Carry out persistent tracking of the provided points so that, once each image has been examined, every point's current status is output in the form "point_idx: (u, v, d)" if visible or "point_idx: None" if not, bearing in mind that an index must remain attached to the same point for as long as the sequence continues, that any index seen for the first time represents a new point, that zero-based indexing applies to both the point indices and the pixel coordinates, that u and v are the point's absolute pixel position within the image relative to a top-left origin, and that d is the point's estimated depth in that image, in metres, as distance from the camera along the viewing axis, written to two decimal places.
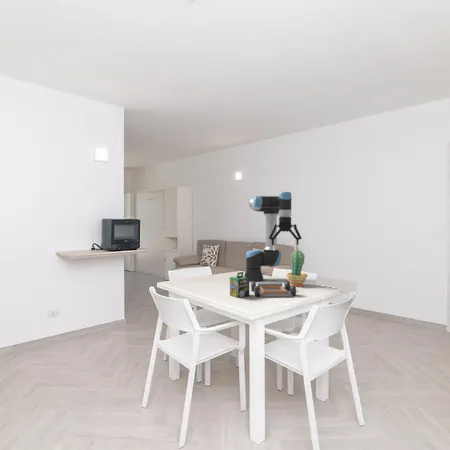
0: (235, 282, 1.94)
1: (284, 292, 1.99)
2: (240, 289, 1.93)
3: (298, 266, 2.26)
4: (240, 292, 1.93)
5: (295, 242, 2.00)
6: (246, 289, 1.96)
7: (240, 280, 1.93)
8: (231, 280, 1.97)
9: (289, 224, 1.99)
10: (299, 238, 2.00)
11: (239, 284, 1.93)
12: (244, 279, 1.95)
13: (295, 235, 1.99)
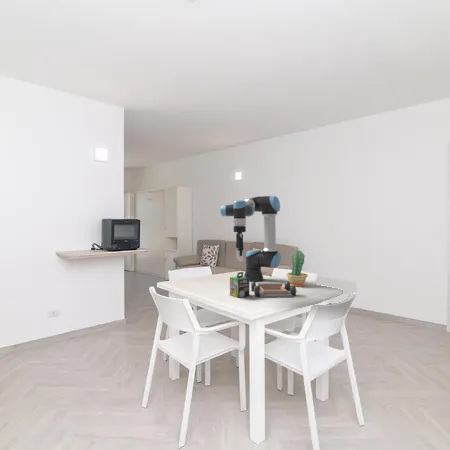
0: (235, 282, 1.94)
1: (284, 292, 1.99)
2: (240, 289, 1.93)
3: (298, 266, 2.26)
4: (240, 292, 1.93)
5: None
6: (246, 289, 1.96)
7: (240, 280, 1.93)
8: (231, 280, 1.97)
9: (238, 233, 1.95)
10: None
11: (239, 284, 1.93)
12: (244, 279, 1.95)
13: (238, 245, 1.91)
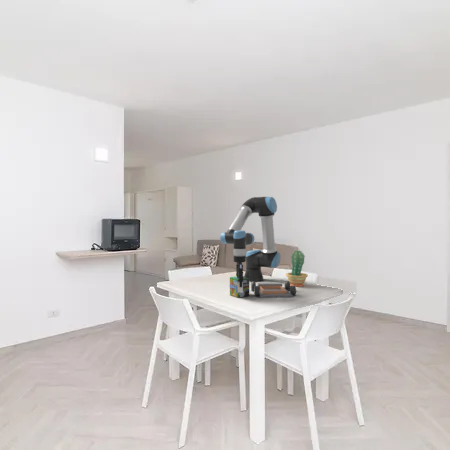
0: (235, 282, 1.94)
1: (284, 292, 1.99)
2: None
3: (298, 266, 2.26)
4: None
5: None
6: (246, 289, 1.96)
7: None
8: (231, 280, 1.97)
9: (238, 263, 1.95)
10: None
11: None
12: (244, 279, 1.95)
13: (238, 276, 1.92)
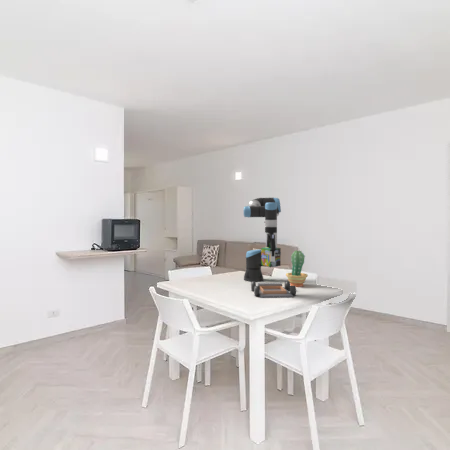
0: (267, 252, 2.01)
1: (284, 292, 1.99)
2: None
3: (298, 266, 2.26)
4: None
5: None
6: (278, 259, 2.02)
7: None
8: (263, 250, 2.04)
9: (270, 234, 2.02)
10: None
11: None
12: (276, 249, 2.01)
13: (270, 246, 1.99)
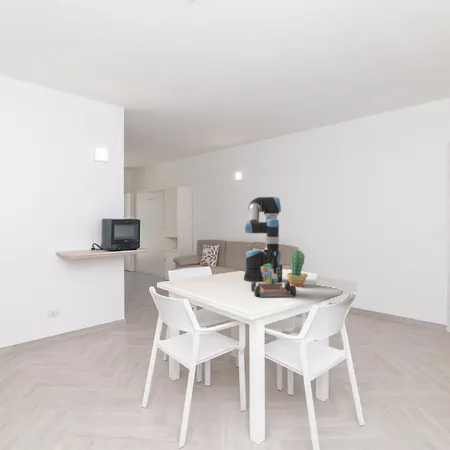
0: (269, 269, 2.01)
1: (284, 292, 1.99)
2: None
3: (298, 266, 2.26)
4: None
5: None
6: (279, 276, 2.03)
7: None
8: (264, 267, 2.04)
9: (271, 251, 2.02)
10: None
11: None
12: None
13: (272, 263, 1.99)
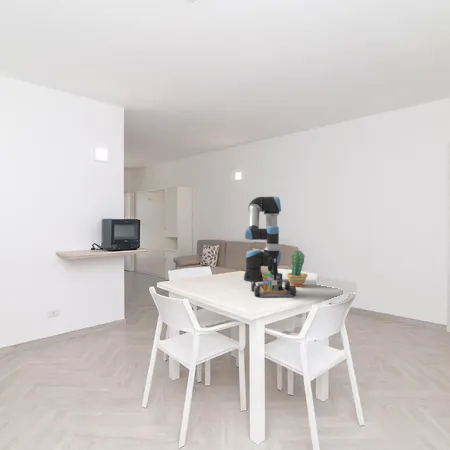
0: (269, 278, 2.01)
1: (284, 292, 1.99)
2: None
3: (298, 266, 2.26)
4: (274, 287, 2.00)
5: None
6: (280, 285, 2.03)
7: None
8: (264, 276, 2.04)
9: (271, 258, 2.03)
10: None
11: None
12: (277, 275, 2.02)
13: (272, 269, 1.99)
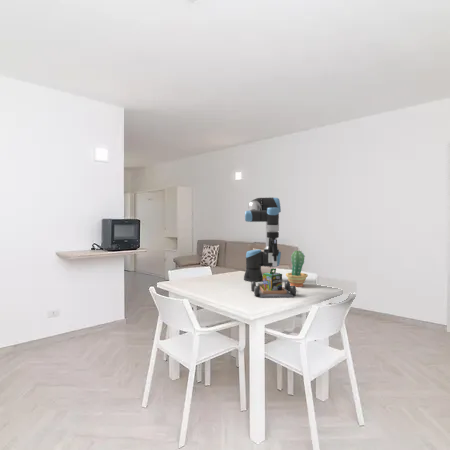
0: (268, 278, 2.01)
1: (284, 292, 1.99)
2: (273, 284, 2.00)
3: (298, 266, 2.26)
4: (273, 287, 2.00)
5: None
6: (279, 285, 2.02)
7: (273, 276, 2.00)
8: (264, 276, 2.04)
9: (271, 239, 2.02)
10: None
11: (272, 280, 1.99)
12: (277, 275, 2.01)
13: (272, 250, 1.99)
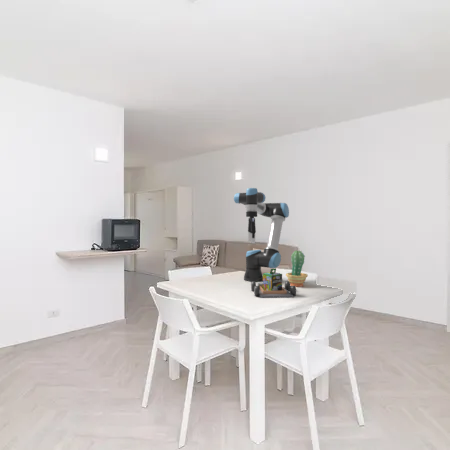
0: (268, 278, 2.01)
1: (284, 292, 1.99)
2: (273, 284, 2.00)
3: (298, 266, 2.26)
4: (273, 287, 2.00)
5: None
6: (279, 285, 2.02)
7: (273, 276, 2.00)
8: (264, 276, 2.04)
9: (250, 218, 2.13)
10: None
11: (272, 280, 1.99)
12: (277, 275, 2.01)
13: (251, 228, 2.10)
